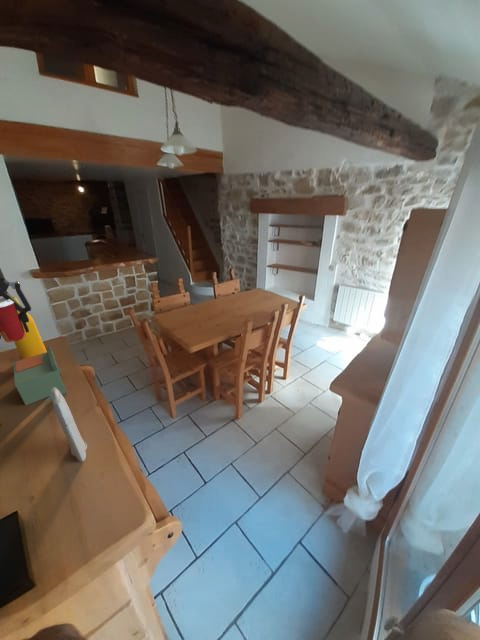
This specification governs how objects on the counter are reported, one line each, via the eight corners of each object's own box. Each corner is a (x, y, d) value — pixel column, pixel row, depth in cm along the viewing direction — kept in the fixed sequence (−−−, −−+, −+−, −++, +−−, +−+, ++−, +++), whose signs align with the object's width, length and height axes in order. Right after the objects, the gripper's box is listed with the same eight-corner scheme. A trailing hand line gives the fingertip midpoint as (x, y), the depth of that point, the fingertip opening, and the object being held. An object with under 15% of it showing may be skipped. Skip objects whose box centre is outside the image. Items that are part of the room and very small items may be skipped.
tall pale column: (91, 458, 72) (67, 401, 62) (75, 467, 70) (47, 409, 60) (83, 433, 79) (61, 379, 69) (68, 441, 77) (42, 385, 67)
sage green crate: (27, 408, 88) (12, 379, 82) (24, 384, 99) (11, 357, 93) (67, 393, 95) (55, 365, 89) (60, 372, 106) (50, 346, 100)
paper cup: (34, 331, 90) (18, 294, 83) (21, 343, 83) (3, 304, 76) (9, 333, 88) (-8, 296, 82) (-6, 344, 82) (-27, 305, 75)
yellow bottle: (49, 357, 115) (25, 298, 102) (24, 365, 109) (-6, 305, 96) (45, 349, 121) (22, 292, 108) (21, 356, 115) (-7, 298, 102)
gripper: (-69, 276, 66) (-28, 348, 77) (24, 264, 77) (49, 329, 88) (-64, 270, 72) (-25, 338, 82) (23, 259, 83) (47, 321, 93)
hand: (13, 333), depth 85 cm, fingers closed on paper cup, 7 cm apart
